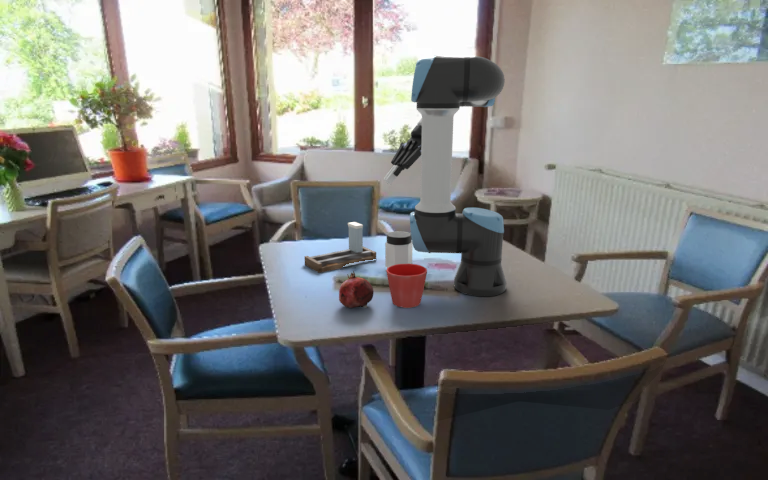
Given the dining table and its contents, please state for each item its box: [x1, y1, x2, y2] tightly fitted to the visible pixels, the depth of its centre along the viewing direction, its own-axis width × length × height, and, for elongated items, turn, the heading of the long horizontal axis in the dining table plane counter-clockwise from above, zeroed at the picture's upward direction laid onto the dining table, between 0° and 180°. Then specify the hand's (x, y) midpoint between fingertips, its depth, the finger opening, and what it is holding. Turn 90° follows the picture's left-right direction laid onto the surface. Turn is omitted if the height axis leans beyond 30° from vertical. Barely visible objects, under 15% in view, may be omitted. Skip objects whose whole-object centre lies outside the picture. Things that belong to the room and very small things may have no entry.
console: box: [304, 246, 377, 274], centre depth 169 cm, size 22×10×3 cm, turn 125°
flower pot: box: [385, 263, 428, 309], centre depth 135 cm, size 11×11×10 cm
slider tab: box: [347, 221, 364, 254], centre depth 171 cm, size 3×5×11 cm, turn 35°
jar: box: [384, 230, 414, 268], centre depth 161 cm, size 9×8×12 cm
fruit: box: [338, 270, 375, 309], centre depth 132 cm, size 9×10×10 cm
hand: (387, 181), depth 173 cm, fingers closed
